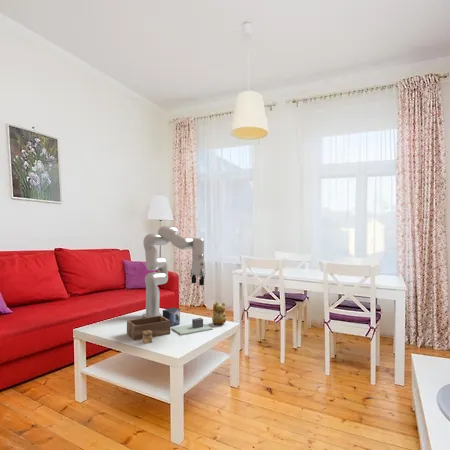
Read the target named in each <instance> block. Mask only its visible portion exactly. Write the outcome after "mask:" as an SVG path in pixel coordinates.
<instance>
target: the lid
mask: <svg viewBox="0 0 450 450" xmlns="http://www.w3.org/2000/svg"><path fill="white" fill-rule="evenodd" d="M170 330H172V331H173V332H174V333H177V334H178V335H180V336H187V335H192V334H196V333H201V332H202V333H203V332H207V331H213V330H214V329H213V327H211V326H209V325H207V324H205V323H204V318H202V317H198V318H192V321H191V324H185V325H180V326H179V325H178V326H172V327H170Z"/></svg>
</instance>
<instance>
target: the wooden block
mask: <svg viewBox="0 0 450 450" xmlns="http://www.w3.org/2000/svg"><path fill="white" fill-rule="evenodd" d="M142 334H143V339H141V340H142V343H143V344H144V345H147V344H151V343H153V337H152V331H150V330H146V331H143V333H142Z"/></svg>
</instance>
